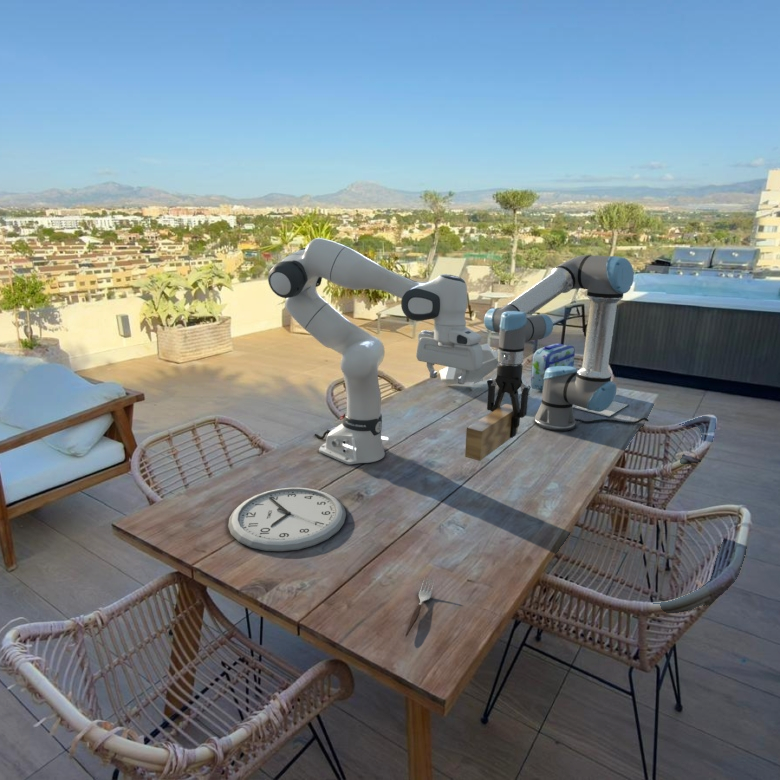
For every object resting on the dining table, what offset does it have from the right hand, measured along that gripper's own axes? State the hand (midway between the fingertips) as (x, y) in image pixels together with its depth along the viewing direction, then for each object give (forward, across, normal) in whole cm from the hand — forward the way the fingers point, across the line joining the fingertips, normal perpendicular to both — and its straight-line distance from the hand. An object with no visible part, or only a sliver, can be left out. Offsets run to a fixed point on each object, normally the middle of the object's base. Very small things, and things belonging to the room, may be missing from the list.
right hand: (504, 434), depth 165 cm
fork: (+10, +16, -73) cm, 75 cm away
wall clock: (+10, -30, -65) cm, 72 cm away
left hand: (-20, -11, -18) cm, 29 cm away
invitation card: (+12, +8, +81) cm, 82 cm away
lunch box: (+12, -19, +94) cm, 97 cm away
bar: (+1, 0, -8) cm, 8 cm away
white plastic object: (+12, -42, +66) cm, 79 cm away
